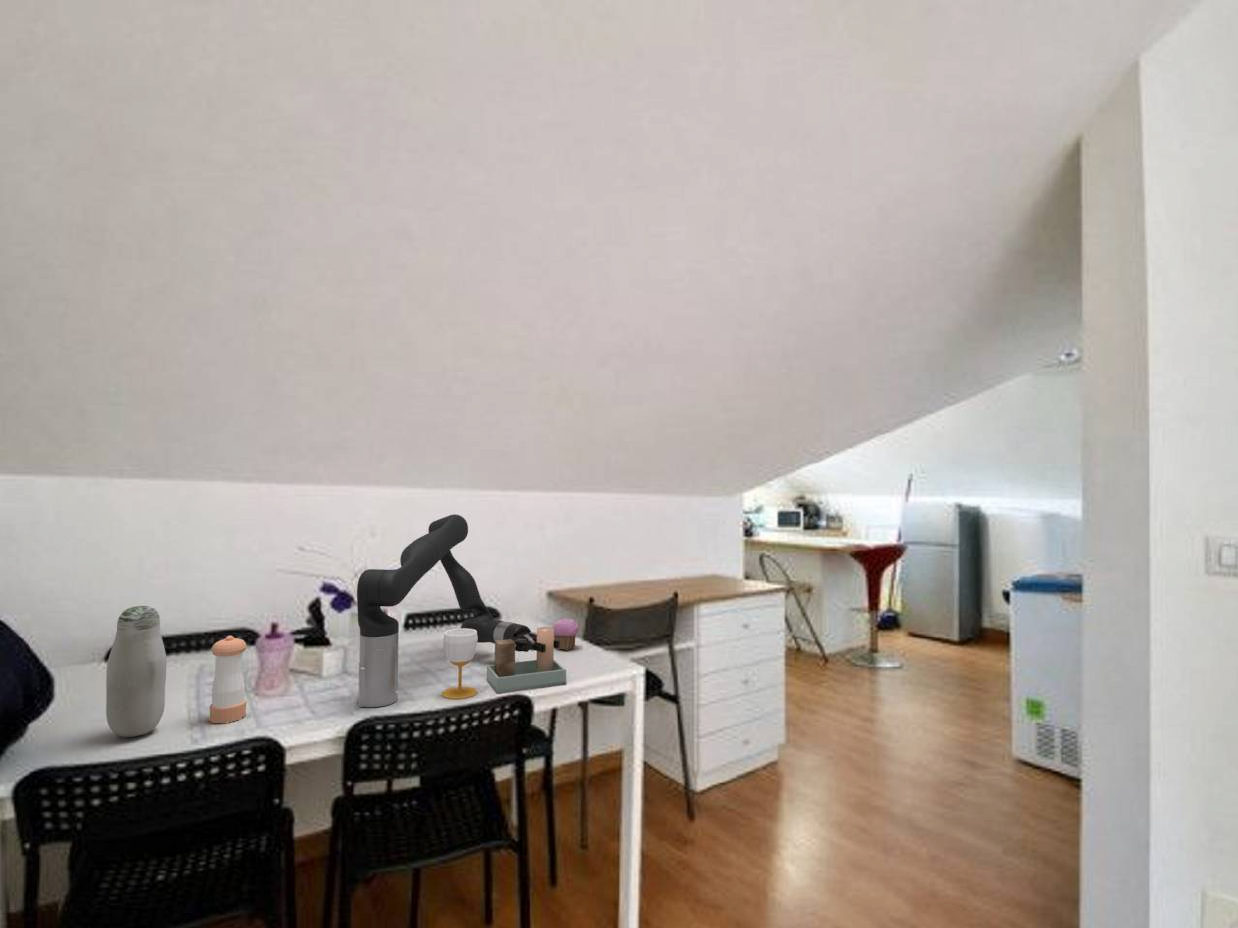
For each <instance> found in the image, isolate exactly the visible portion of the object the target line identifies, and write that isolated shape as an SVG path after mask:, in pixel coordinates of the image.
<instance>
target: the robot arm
mask: <svg viewBox="0 0 1238 928" xmlns="http://www.w3.org/2000/svg"><path fill="white" fill-rule="evenodd" d="M427 530H428V533H426V534H423V535H422V536H420V537H419V538H416V539H415V540H413V541H412V542H411V543H410V544H407V546H406V547H405V548H404V549H403V550H402V552H401V554H400V559H399V561H400V567H398V568H396V569H383V568H382V569H381V568H379V569H377V568H373V569H366V570H364V571H363V572H362V573H360V575H359V578H358V581H357V587H356V602H357V603H356V604H357V605H356V606H357V624H358V627H359V662H358V694H357V695H358V699H357V700H358V707H359V708H364V707H365V708H366V707H367V708H378V707H385V706H388V705H392V704H395V702H397V701H398V696H399V639H400V638H399V632H400V631H399V630H400V629H399V628H400V625H399V621H398V619H396V618H395V617H392V616H390V615H388V614H387V613H386V612H384V610H383V609H382V608H381V607H386V608H390V607H395V606H397V605H399V604H400V603H402V602H403V601H404V600H405V598H406V597H407V595H408V594H409V593H410V592H411V590H412V589H413V588H414V586H415V585H416V584H417V583H418V582H419V581H420V580H421V579H422V578H423V576H425V575H426V574H427V573H428V572H429V571H431V569H433V568H434V567H435V566H436V565H438V563H439V562H440V563H441V564H442V565H441V566H442V567H443V568H444V570H445V572H446V574H447V576H448V579H449V581H450V583H451V586H452V588H453V591H454V594H455V598H456V601H457V603H458V606H459V609H460V611H463V612H464V611H465V612H466V611H472V612H473V614H475V615H474V616H471V617H469V618H467V619H465V620H464V621H463V622H462V623H461V626H460V629H463V628H466V629H474V630H476V631H477V636H478V640H477V644H478V643H483V644H484V643H491V644H494V645H495V641H496V640H506V639H511V640H513V641H514V642H515V652H523V653H524V652H525V653H528V652H529V651H531V652H534V651H536V652H537V651H539V652H542V653H543V652H545V651H546V645H545V644H542V643H538V642H537V632H533V631H531V629H530V628H529V627H528V626H527V625H525V624H519V623H516V622H512V621H504V620H500V619H495V618H494V616H493V615H492V613H491V612H490V610H489V609H488V607H487V606H486V603H484V601H483V599H482V597H481V594H480V590H479V589H478V585H477V583H476V580H475V578H474V577H473V575H472V574H471V573H470V572H469V571H468V570H467V569H466V568H465V567H464V566H463V565H461V564H460V563H459V562H458V560H456V558H455V557H454V555H453V553H452V550H451V549H453V548H455V547H456V546H457V545H459V544H461V543H462V542H463V541H465V539H466V538H467V537H468V533H469V525H468V522H467V519H465V518H464V517H463V516H462V515H460V514H450V515H447V516H444V517H441V518H439V519H436V520H434V521H432V522H431V523H430V524H429V526H428V529H427ZM558 648H560V641H559V640H555V639H554V649H558Z"/></svg>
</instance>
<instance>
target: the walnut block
mask: <svg viewBox="0 0 1238 928" xmlns="http://www.w3.org/2000/svg"><path fill="white" fill-rule="evenodd" d="M515 662H516V651H515V642H514V641H513V640H511V639H506V640H496V641H495V644H494V665H495V673H496V675H497V676H498V677H506V676H514V675H515Z"/></svg>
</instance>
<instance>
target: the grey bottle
mask: <svg viewBox="0 0 1238 928" xmlns="http://www.w3.org/2000/svg"><path fill="white" fill-rule="evenodd" d="M116 624H117V625H116V633H115V637H114V642H113V645H112V648H111V650H110V653H109V656H108V659H107V664H106V679H105V681H106V682H105V684H106V687H105V688H106V689H105V690H106V695H105V696H106V698H105V700H106V703H105V705H106V706H105V711H106V712H105V713H106V714H105V715H106V716H105V717H106V721H107V725H108V727H109V729H110V730H111V731H112V733H114V734H116V735H117V736H120V737H124V738H132V737H133V738H134V737H138V736H143V735H146V734H148V733H149V732H151V731H153V730H154V729H155V728H156V727H157V726H158V724H159V723H160V721H161V719H162V717H163V715H164V711H165V703H166V681H167V654H166V648H165V645H164V640H163V638H162V633H161V632H162V631H161V618H160V614H159V612H158V610H157V609H155V608H154V607H152V606H148V605H136V606H131V607H129V608H126V609H125V610H123V611H122V612H121V614H120V615H119V617H118V619H117V623H116Z"/></svg>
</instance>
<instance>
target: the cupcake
mask: <svg viewBox="0 0 1238 928" xmlns="http://www.w3.org/2000/svg"><path fill="white" fill-rule="evenodd" d="M552 628H554V639H555V640H559V641H560V648H558V649H559V650H564V651H569V650H572V649H574V648H575V646H576V637H577V634H578V633H579V631H580V627H579V625H578V623H577V622H576V621H575V620H574V619H572V618H571V619H570V618H563V619H558V620H557V621H555V622H554V624H553V626H552Z"/></svg>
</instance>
